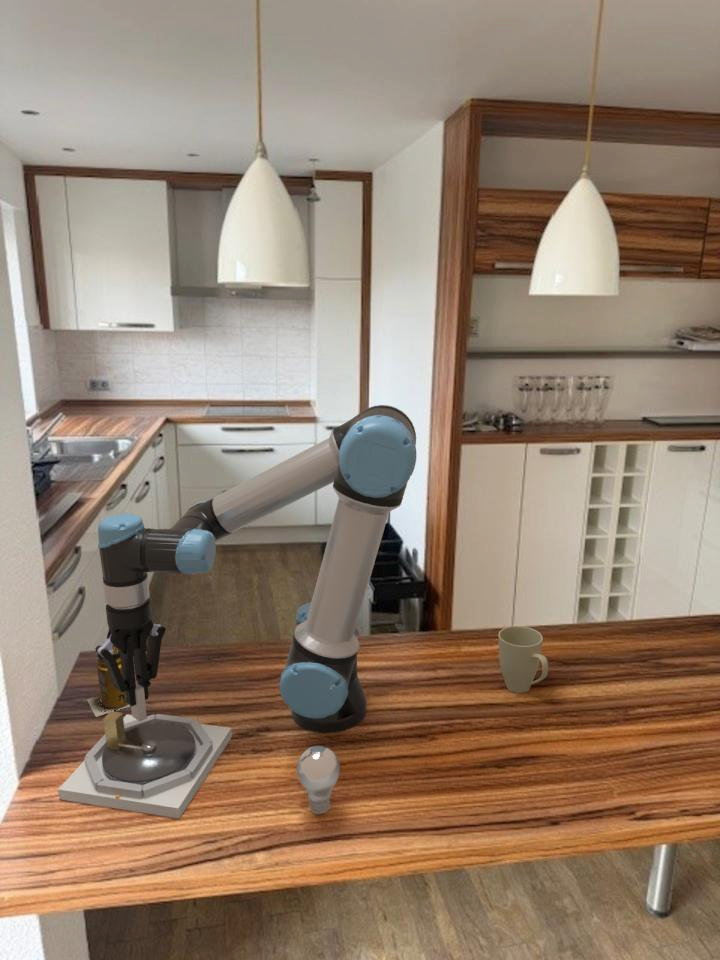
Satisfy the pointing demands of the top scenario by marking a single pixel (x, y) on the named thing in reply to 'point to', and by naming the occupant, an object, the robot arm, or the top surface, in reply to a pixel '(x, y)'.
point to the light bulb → (318, 776)
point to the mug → (521, 657)
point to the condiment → (107, 689)
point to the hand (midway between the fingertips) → (139, 717)
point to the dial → (145, 750)
